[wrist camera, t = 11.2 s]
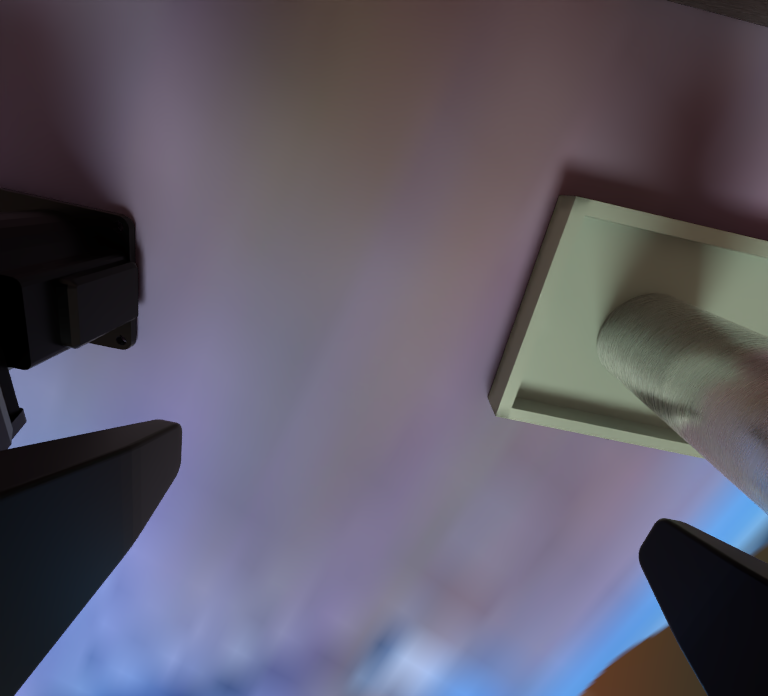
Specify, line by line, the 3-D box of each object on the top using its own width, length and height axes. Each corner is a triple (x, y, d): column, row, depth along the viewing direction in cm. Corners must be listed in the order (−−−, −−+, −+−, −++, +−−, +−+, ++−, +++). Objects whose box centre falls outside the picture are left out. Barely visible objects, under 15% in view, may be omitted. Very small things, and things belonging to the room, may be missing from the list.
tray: (487, 398, 21) (495, 416, 20) (559, 195, 18) (576, 196, 16) (722, 446, 22) (749, 467, 20) (839, 261, 18) (883, 268, 17)
